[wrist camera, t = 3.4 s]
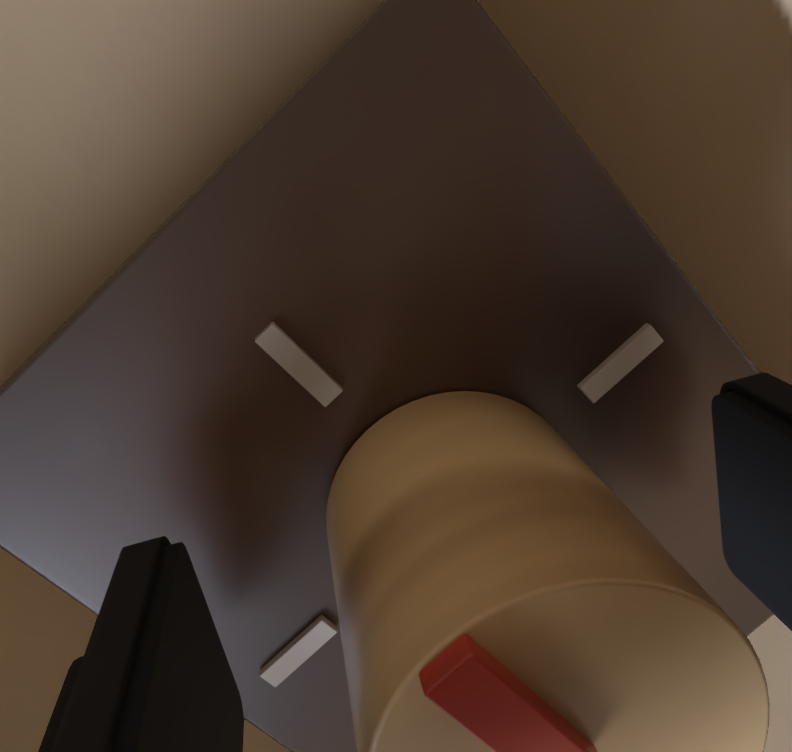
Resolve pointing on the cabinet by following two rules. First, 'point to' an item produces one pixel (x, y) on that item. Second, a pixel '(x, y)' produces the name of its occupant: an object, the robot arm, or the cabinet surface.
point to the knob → (520, 599)
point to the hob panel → (363, 348)
